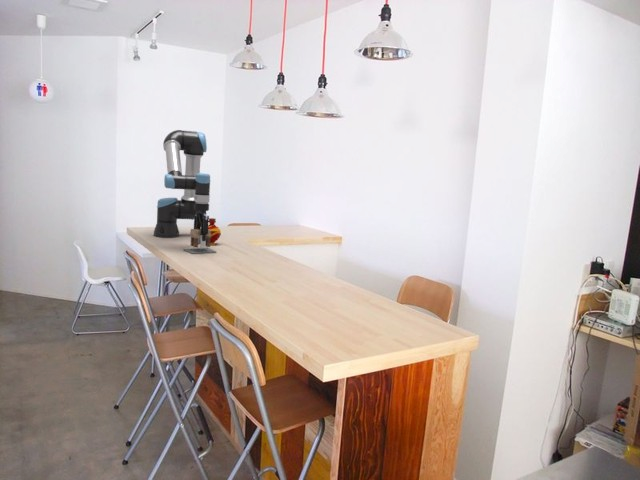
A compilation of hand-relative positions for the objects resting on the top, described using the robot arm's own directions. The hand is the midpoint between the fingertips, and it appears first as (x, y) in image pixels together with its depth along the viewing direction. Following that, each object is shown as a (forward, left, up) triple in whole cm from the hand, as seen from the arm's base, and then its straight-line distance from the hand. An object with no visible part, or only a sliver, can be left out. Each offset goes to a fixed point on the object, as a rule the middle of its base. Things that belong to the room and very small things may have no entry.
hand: (200, 245), depth 261 cm
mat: (0, 0, -3) cm, 3 cm away
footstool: (0, 0, 0) cm, 0 cm away
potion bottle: (-18, +15, -3) cm, 24 cm away
